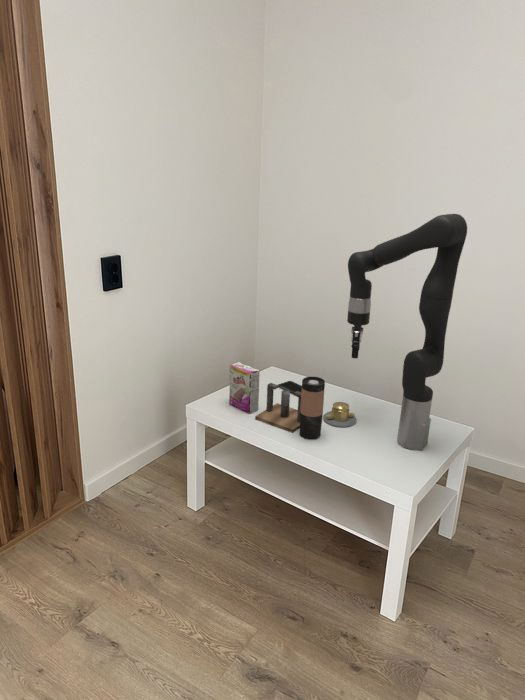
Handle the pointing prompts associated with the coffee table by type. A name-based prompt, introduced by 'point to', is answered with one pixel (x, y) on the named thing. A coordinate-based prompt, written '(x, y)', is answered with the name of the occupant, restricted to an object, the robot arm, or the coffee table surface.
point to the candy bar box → (244, 387)
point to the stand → (281, 411)
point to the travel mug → (311, 407)
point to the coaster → (348, 423)
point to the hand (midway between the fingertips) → (355, 354)
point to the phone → (290, 387)
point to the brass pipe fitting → (340, 412)
